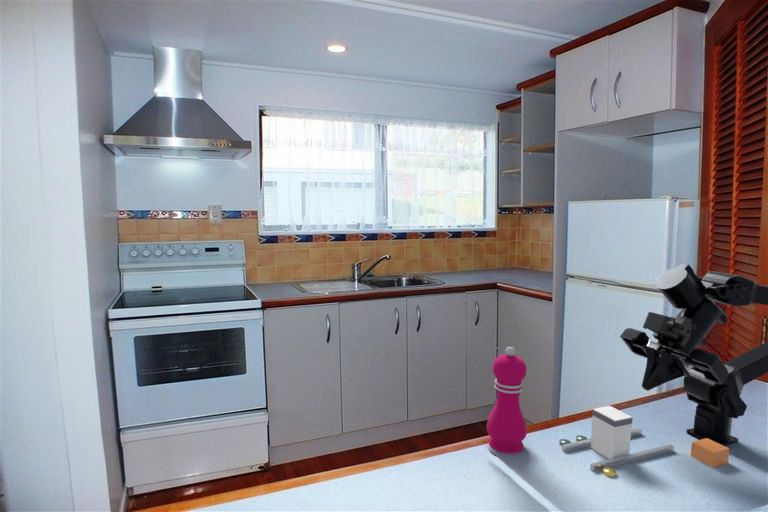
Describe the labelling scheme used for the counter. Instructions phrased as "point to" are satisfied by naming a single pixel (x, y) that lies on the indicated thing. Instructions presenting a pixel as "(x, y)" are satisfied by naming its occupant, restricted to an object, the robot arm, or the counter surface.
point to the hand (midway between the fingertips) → (644, 388)
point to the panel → (606, 464)
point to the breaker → (611, 432)
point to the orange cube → (710, 452)
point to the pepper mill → (507, 404)
